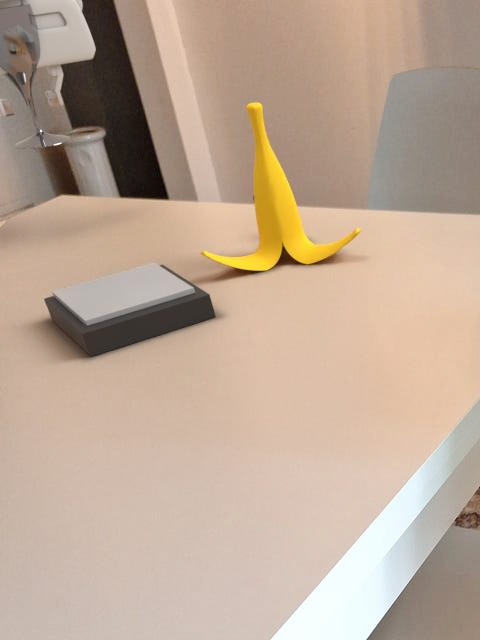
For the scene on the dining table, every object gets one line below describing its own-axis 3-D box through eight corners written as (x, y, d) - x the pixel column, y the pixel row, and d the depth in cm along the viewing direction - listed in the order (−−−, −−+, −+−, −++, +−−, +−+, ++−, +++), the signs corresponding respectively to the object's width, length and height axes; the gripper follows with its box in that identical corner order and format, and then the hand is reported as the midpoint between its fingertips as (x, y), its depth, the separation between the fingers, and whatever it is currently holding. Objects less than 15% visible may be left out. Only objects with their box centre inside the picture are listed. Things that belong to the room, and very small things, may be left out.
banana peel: (204, 282, 109) (160, 124, 98) (281, 230, 122) (250, 85, 111) (328, 288, 104) (296, 122, 93) (395, 233, 117) (374, 82, 106)
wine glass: (85, 134, 125) (44, 0, 115) (49, 149, 119) (3, 10, 109) (36, 134, 126) (-9, 3, 117) (-2, 149, 121) (-52, 12, 111)
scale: (90, 357, 95) (79, 327, 93) (52, 320, 104) (41, 293, 102) (216, 317, 100) (208, 288, 98) (169, 285, 109) (161, 258, 107)
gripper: (65, -30, 117) (101, 94, 126) (-106, -9, 109) (-54, 122, 118) (81, -28, 113) (117, 99, 122) (-96, -6, 105) (-43, 129, 114)
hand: (32, 111), depth 120 cm, fingers closed on wine glass, 5 cm apart
